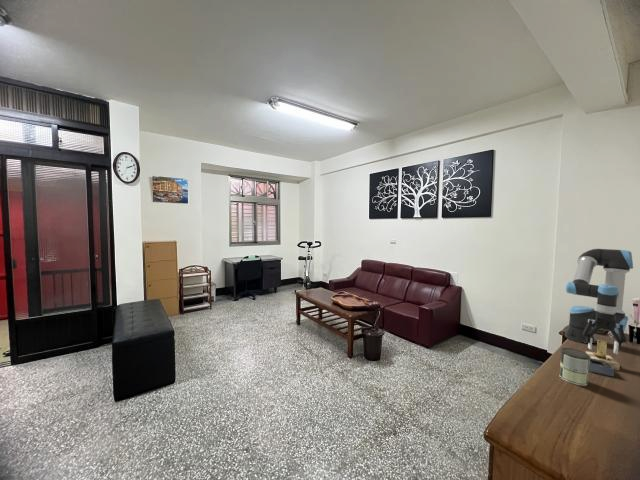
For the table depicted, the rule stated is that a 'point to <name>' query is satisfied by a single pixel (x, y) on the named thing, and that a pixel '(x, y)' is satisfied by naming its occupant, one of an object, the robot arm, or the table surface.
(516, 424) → the table surface
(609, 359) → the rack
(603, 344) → the peg
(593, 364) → the socket
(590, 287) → the robot arm
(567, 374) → the coffee can
